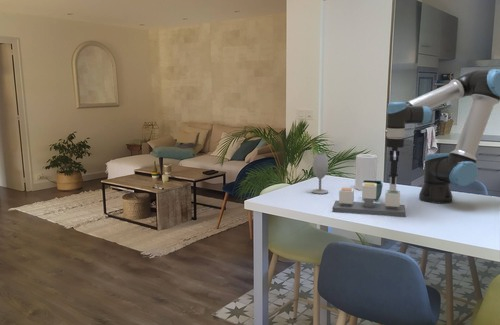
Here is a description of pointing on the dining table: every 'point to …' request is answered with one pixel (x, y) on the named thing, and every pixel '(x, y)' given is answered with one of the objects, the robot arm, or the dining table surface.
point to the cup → (365, 169)
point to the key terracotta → (346, 195)
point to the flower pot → (378, 189)
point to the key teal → (392, 198)
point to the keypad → (369, 208)
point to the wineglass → (320, 170)
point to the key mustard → (369, 190)
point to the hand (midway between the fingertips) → (392, 190)
